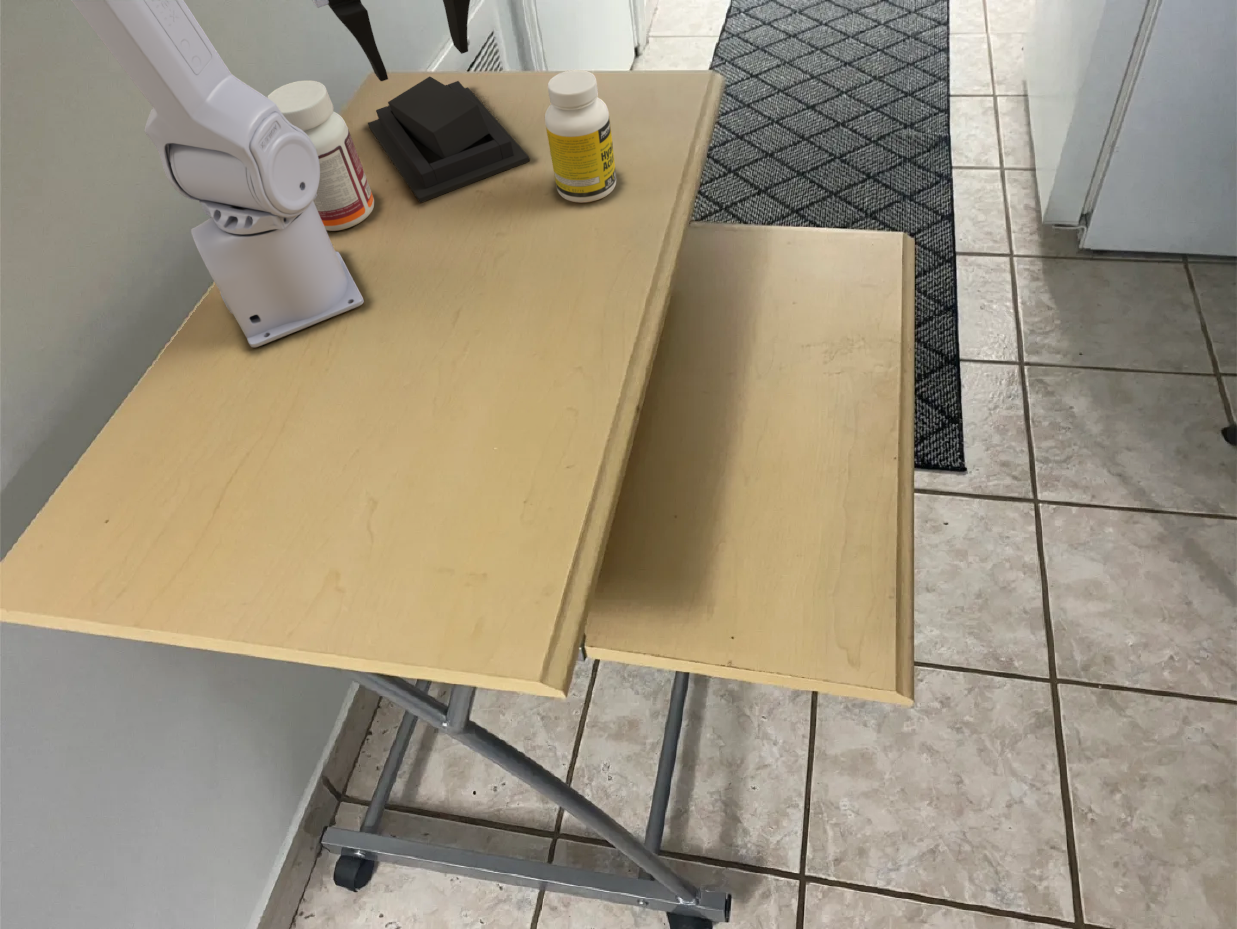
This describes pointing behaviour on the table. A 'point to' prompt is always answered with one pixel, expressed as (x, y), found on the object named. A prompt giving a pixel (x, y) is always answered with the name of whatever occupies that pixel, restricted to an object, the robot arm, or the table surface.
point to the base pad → (448, 174)
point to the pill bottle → (328, 154)
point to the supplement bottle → (579, 137)
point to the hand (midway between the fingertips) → (421, 62)
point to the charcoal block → (439, 117)
